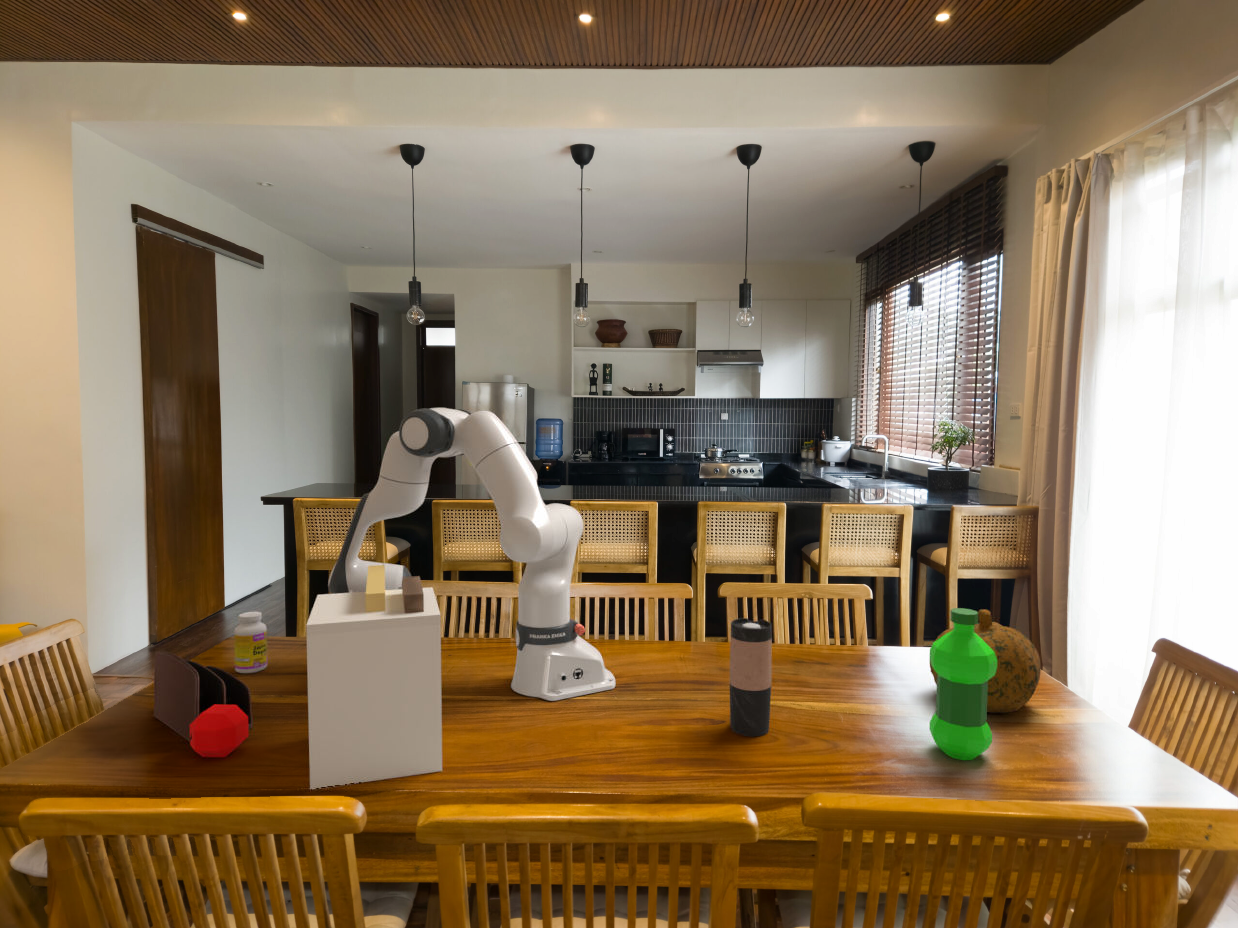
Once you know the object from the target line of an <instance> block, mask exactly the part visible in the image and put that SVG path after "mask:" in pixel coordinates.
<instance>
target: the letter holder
mask: <svg viewBox="0 0 1238 928" xmlns="http://www.w3.org/2000/svg"><path fill="white" fill-rule="evenodd" d="M153 680H154V681H153V688H154V689H153V717H154V718H155V719H157V720H158V721H160V722H161V723H163V724H164V725H166V726H167V727H169V729H170V730H172V731H174V732H175V733H177V734H178V735H179V736H181V737H182V738H183V739H185V740H186V741H188V742H189V743H190V741H191V739H190V724H191V723H192V722H193V721H194V720H195V719H196V718H197V717H198V716H199V715H200V714H201V713H202V712H204V711H205V710H207V709H208V708H210V707H211V706H213V705H214V704H221V705H237V706H238V707H239V708H240V709H241V710H242V711H243V712H244V713H245V714H246V715H247V716H248V729H249V730H252V729H253V727H254V726H253V725H254V724H253V709H252V708H253V707H252V694H251V690H250V688H249V687H248V685H247V684H246V683H245V682H244V681H242V680H241V679H239V678H237V677H236V676H235V675H232V674H231V672H230V673H229V672H228V671H226V670H224V669H222V668H219V667H217V666H213V665H207V666H205V665H203V664H200V663H198V662H196V661H193V660H188V659H183V658H181V657H180V656H178V655H176V654H174V653H172V652H169V651H163V650H157V651H155V653H154V677H153Z"/></svg>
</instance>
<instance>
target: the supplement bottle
mask: <svg viewBox="0 0 1238 928" xmlns="http://www.w3.org/2000/svg"><path fill="white" fill-rule="evenodd" d="M262 618H263V617H262V612H261V611H247V612H243V613H241V614H239V615H238V622H239V625H237V626H236V627H235V628H234V630H233V638H234V644H233V645H234V670H235V672H236V673H239V674H255V673H258V672H261V671H263V670H265V669H266V668H267V666H268V641H267V640H268V636H267V635H268V633H267V631H268V629H267V626H266V624H265V623H263V622H261V620H262Z"/></svg>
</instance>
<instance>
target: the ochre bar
mask: <svg viewBox="0 0 1238 928" xmlns="http://www.w3.org/2000/svg"><path fill="white" fill-rule="evenodd" d="M378 611H385V565H374V566H368V576H367V586H366V612H378Z"/></svg>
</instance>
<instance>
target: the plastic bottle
mask: <svg viewBox="0 0 1238 928" xmlns="http://www.w3.org/2000/svg"><path fill="white" fill-rule="evenodd" d="M949 619H950V620H949V621H950V622H952V623H953V627H952V628H953V630H952V631H950V632H949V633H947V634H945V635H944V636H942V637H941V638H939V639H938V640H937V641H934V642H932V644H931V647H930V649H929V662H930V661H931V665H932V667H933V669H934V670H935V671H936V673H937V685H936V696H935V697H936V698H935V702H936V703H935V713H934V714H933V716H932V717H931V719H930V721H929V732H930V735H931V736H932V739H933V740H934V743H935V744H936V745H937V747H938V748H940V750H941V751H942V752H944V754H945V755H947V756H948V757H950V758H952V759H956V760H960V761H972V760H974V759H976V758H977V757H978V756H981V754H983V753H984V752H986V751H987V750H988V749H989V748H990V746H991V744H992V743H993V733H992V730H991V727H990V725H989V724H988V722H987V719H988V717H987V716H988V715H987V713H988V712H987V692H988V680H989V679H991V678H992V677H993V676H994V675H995V673H996V670H997V658H996V655H995V652H994V651H993V650H992V649H991V648H990V647H989V646H988V645H987V644H986V643H985V642H984V641H983V640H982V639H981V638H980V637H979V636H978V635H977V634H976V633H975V632H974V625H976V624H979V616H978V611H977V610H973V609H970V608H963V607H962V608H961V607H958V608H955V607H954V608H952V609H950V618H949Z"/></svg>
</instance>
